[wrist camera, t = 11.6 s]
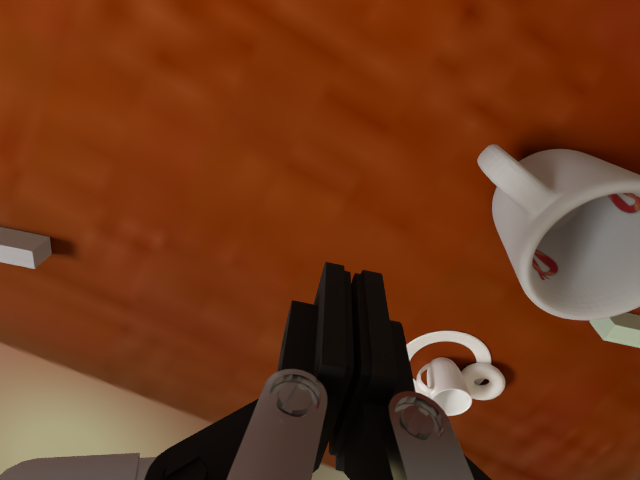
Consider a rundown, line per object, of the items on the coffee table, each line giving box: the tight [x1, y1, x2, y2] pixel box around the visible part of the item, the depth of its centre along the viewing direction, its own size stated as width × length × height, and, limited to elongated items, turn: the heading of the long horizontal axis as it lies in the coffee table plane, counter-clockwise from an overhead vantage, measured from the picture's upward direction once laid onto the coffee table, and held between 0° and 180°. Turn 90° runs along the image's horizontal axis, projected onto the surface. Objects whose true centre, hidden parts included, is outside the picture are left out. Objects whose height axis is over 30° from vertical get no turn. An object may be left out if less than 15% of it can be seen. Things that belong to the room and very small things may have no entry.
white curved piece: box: [406, 331, 505, 416], centre depth 34 cm, size 9×8×4 cm
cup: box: [477, 144, 640, 320], centre depth 23 cm, size 11×8×8 cm
